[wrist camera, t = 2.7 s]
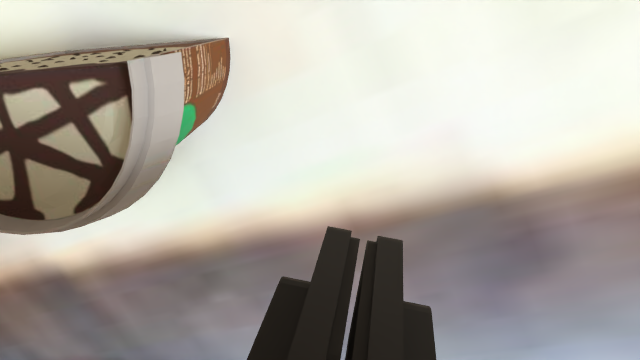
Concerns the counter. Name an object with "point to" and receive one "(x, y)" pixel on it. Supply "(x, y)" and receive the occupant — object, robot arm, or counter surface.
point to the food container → (98, 127)
